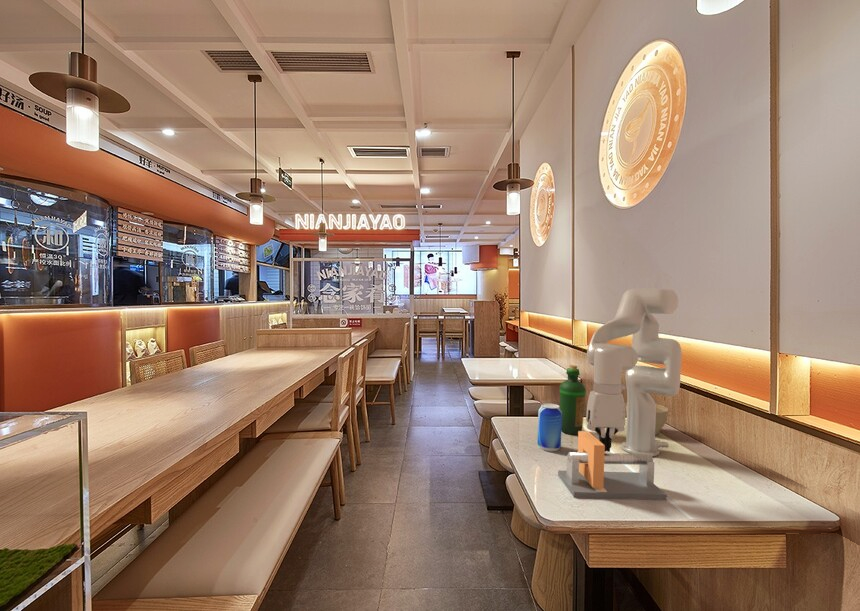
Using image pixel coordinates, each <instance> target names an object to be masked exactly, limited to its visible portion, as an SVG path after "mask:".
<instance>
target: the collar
mask: <svg viewBox="0 0 860 611" xmlns="http://www.w3.org/2000/svg"><path fill="white" fill-rule="evenodd" d="M577 439H578V440H577V452H587V453H588V463H579V472H580V473H581V474H582V475H583V476H584V478H585V479H586V480H587V481H588V482H589V483H590V485H591V486H592V487H599V488H603V485H604V472H605V464H604V456H605V453H606V452H605V445H604V444H602V443H601V442H600V441H599V438H596V437H595V436H594V435H593V434H592V433H591V432H589V431H588V430H586V431H584V430H582V431H578V438H577Z"/></svg>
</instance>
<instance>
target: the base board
mask: <svg viewBox="0 0 860 611" xmlns="http://www.w3.org/2000/svg"><path fill="white" fill-rule="evenodd" d="M557 476H558V478H559V479H560V481H562V483H563V484H564V486H565V487H566V488H567V490H568V491H569V492H570V494H571V495H572V497H573V498H583V499H584V498H585V499H590V498H592V499H618V500H619V499H621V500H622V499H624V500H630V499H631V500H655V499H667V497H668V496H667V493H666V492H665V491H664V490H662V489H661V488H660V487H659V486H657V485H656V484H655V483H654V486H646V485H645V484H644V483H643V482H641V481H640V480H639V472H637V471H636V472H632V471H629V472H628V471H627V472H626V471H604V485H603V488H599V487H592V486H591V485H590V483H589V482H588V481H587V480H586V479H585V478H584V476H583V475H582V474H581V473H580V472H579V483H578V484H571V483H570V481H569V480H568V479H567V470H561V469H560V470H557Z"/></svg>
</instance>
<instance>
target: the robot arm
mask: <svg viewBox="0 0 860 611" xmlns="http://www.w3.org/2000/svg"><path fill="white" fill-rule="evenodd" d="M678 306H679V298H678V295H677V293H676V292H675V290H673V289H667V288H666V289H665V288H649V287H648V288H630V289H627V290H626V291H624V292H623V294H622V297H621V299H620V303H619V304H618V307H617V311H616V314H615V316H614V318H612V319H610V320H609V321H607V322H606V323H604V324H603V325H601V326H600V327H598V328H597V329H596V330H595V331H594V333H593V335H592V336H591V339H590V341H589V343H588V347H587V350H586V360H587V362H588V363H589V364H590V365H592V366H593V384H592V385H593V386H592V388H593V389H592V390H591V391H590V392H589V395H588V398H587V399H588V400H587V404H586V412H585V413H586V414H585V420H586V422H587V424H586V429H587V430H589V431H592V432H595V433H597V435H598V440H599V441H600V442H601V443H602V444H604V445H605V453H611V448H612V441H613V440H612V439H613V438H614V436H615V435H616V434H617V433H619V432H623V431H624V432H626V433H625V441H622V443H621V444H620V445H621V449H622V450H624V451H625V452H627V453H628V454H650V455H651V456H652V457H657V456H659V455H660V450H659V448H668V447H669V443H668V442H667V441H661V440H660V439H656V435H655V424H656V401H655V399H653V397H652V395H650V394H655V395H662V396H665V397H666V396H667V397H675V396H676V395H677V394H678V393H679V391H680V386H681V373H682V372H681V371H682V347H681V344H680V342H678V340H676V339H673V338H664V337H659V328H660V326H659V322H658V320H657V319H656V317H655V316H654V315H653V314H655V315H657V314H658V315H659V314H662V315H670V314H671V315H672V314H674V313H675V312H676V310H677V309H678ZM631 335H632V336H631ZM628 336H631V337H632V338H631V339H632V340H631V346H629V345H624V344H614V343H608V342H610V341H612V340H616V339H620V338H623V337H628ZM638 362H641V363H647V364H657V365H663V366H664V367H665V368H663V367H655V366H648V365H638ZM623 371H625V384H626V385H625V384H623V383H622V372H623ZM623 390H626V392H627V393H626V395H627V396H626V397H627V398H626V399H627V401H626V403H627V414H626V406H625V404H626V403H625V398H624V394H622V391H623ZM625 425H626V428H625ZM625 429H626V430H625Z"/></svg>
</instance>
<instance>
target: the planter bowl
mask: <svg viewBox="0 0 860 611" xmlns="http://www.w3.org/2000/svg"><path fill="white" fill-rule="evenodd" d="M624 404H625V415H627V402H625V403H624ZM655 404H656V403H655ZM668 414H669V409H668V408H667V407H665V406H664V405H661V404H656V424H655V436H656V435H659V434H660V431H661V429H663V428H664V426H665V425H666V422H667V419H668Z"/></svg>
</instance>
